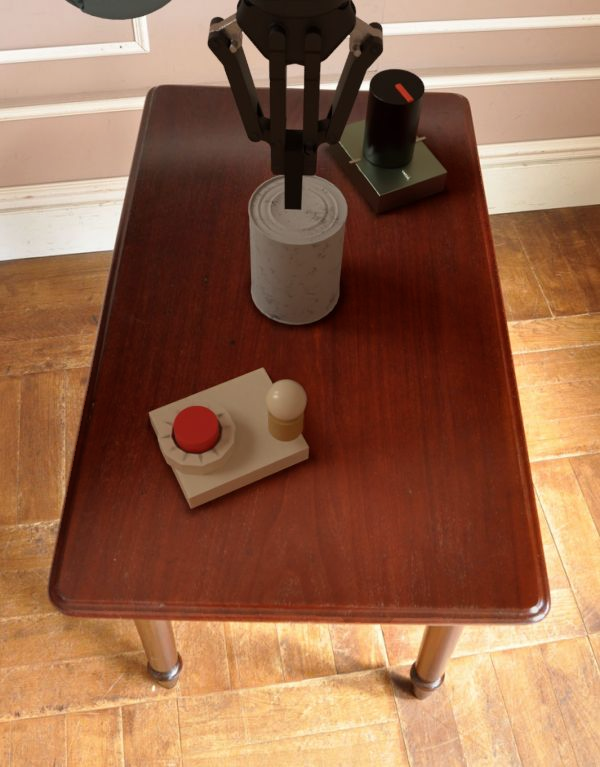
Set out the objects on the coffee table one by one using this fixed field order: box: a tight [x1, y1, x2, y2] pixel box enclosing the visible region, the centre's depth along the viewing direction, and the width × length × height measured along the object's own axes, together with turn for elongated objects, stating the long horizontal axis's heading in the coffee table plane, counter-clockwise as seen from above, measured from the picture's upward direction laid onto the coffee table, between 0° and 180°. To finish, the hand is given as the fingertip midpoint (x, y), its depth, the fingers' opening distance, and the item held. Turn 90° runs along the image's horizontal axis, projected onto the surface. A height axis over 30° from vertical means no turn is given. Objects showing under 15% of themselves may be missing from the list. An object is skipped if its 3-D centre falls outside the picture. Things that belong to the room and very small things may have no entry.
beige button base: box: [148, 367, 310, 509], centre depth 80 cm, size 10×12×4 cm
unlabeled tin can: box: [247, 174, 348, 326], centre depth 87 cm, size 10×10×12 cm
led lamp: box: [265, 378, 308, 442], centre depth 76 cm, size 4×4×6 cm
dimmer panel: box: [328, 118, 448, 215], centre depth 102 cm, size 12×10×3 cm
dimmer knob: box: [363, 68, 426, 168], centre depth 97 cm, size 6×6×9 cm
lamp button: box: [173, 406, 219, 453], centre depth 78 cm, size 4×4×2 cm
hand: (293, 198), depth 75 cm, fingers closed
